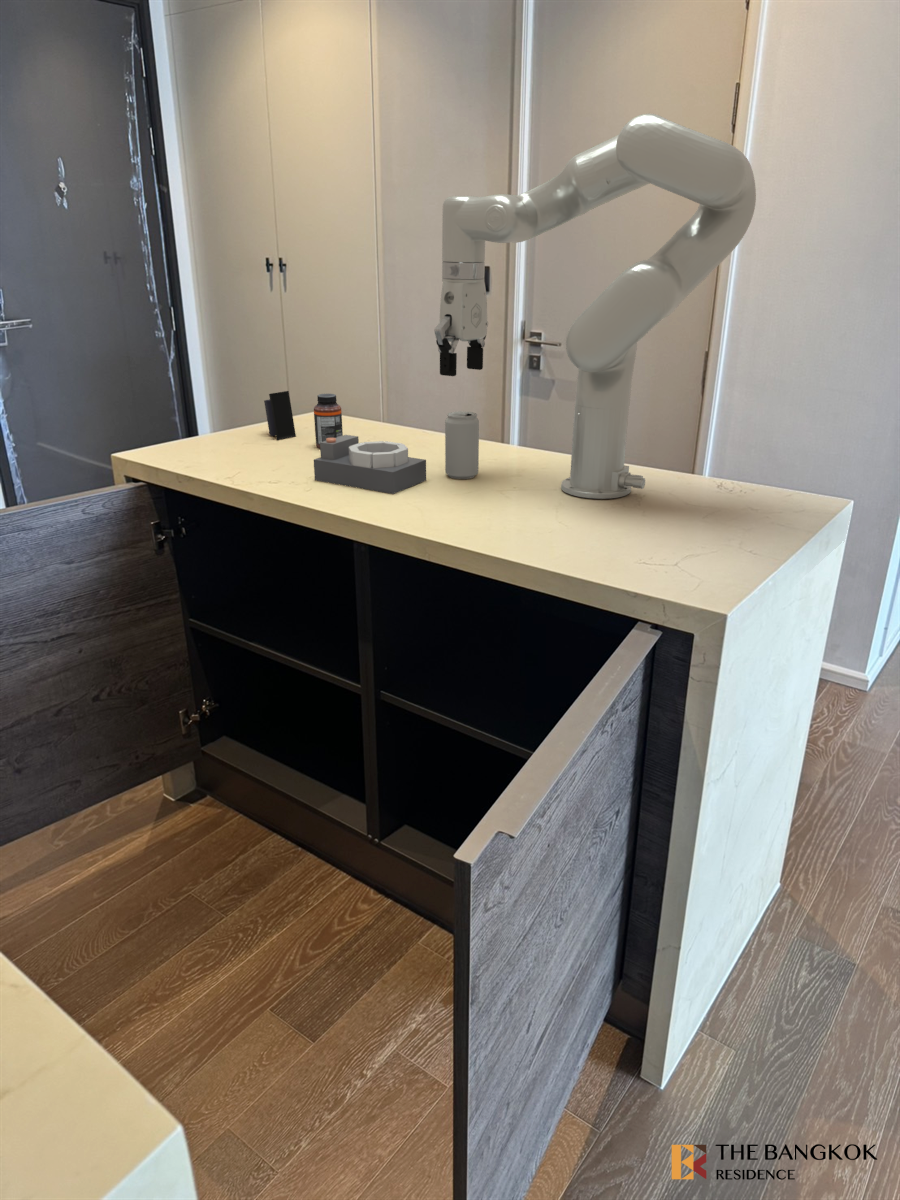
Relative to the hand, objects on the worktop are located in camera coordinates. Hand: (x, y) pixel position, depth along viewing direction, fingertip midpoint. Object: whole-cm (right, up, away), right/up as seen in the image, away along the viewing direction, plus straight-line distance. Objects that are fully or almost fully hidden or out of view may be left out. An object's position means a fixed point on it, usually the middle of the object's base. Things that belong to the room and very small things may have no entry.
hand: (461, 372), depth 159 cm
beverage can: (0, -18, +8) cm, 20 cm away
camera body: (-17, -19, +4) cm, 26 cm away
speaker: (-42, -4, +40) cm, 58 cm away
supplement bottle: (-29, -9, +30) cm, 42 cm away
